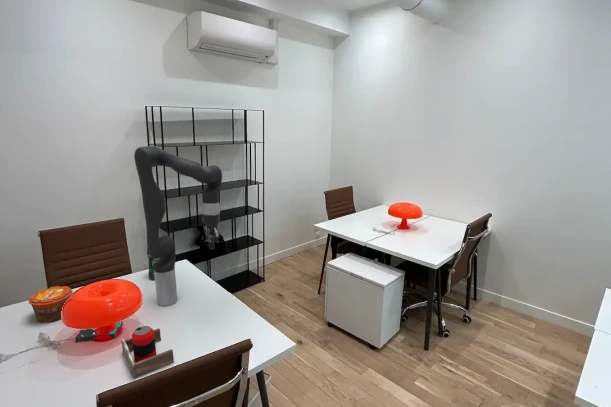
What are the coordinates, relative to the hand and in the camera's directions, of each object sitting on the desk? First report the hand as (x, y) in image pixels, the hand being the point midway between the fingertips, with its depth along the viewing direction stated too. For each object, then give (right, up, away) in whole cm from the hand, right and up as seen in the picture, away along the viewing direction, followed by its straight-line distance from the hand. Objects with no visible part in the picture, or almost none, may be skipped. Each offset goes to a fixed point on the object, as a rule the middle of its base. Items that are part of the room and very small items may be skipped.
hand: (211, 249), depth 155 cm
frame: (-17, -38, -24) cm, 48 cm away
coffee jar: (-41, -21, +41) cm, 62 cm away
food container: (-72, -31, +3) cm, 79 cm away
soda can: (-18, -38, -24) cm, 49 cm away
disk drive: (-44, -35, -9) cm, 57 cm away
